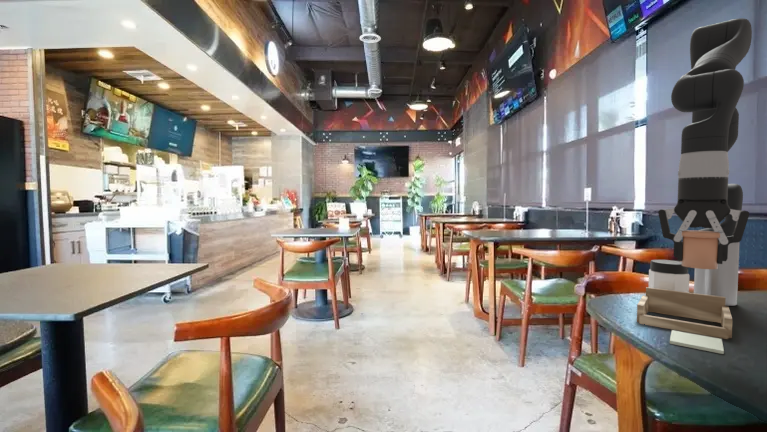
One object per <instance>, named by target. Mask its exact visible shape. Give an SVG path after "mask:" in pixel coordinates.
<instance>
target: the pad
mask: <svg viewBox="0 0 767 432" xmlns="http://www.w3.org/2000/svg"><path fill="white" fill-rule="evenodd" d="M670 344H671V345H675V346H681V347H686V348H690V349H695V350H700V351H704V352H706V351H707V352H710V353H716V354H720V355H724V354H725V350H724V349H725V348H724V345H723V338H717V337H712V336H706V335H701V334H695V333H689V332H684V331H678V330H672V329H671V333H670V337H669V345H670Z"/></svg>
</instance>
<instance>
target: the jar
mask: <svg viewBox="0 0 767 432" xmlns="http://www.w3.org/2000/svg"><path fill="white" fill-rule="evenodd" d="M648 287H649V288H657V289H665V290H673V291H681V292H689V293H690V274H689V267H685V266H682V261H678V260H669V259H651V260H650V268H649V269H648Z"/></svg>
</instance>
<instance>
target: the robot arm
mask: <svg viewBox="0 0 767 432" xmlns="http://www.w3.org/2000/svg"><path fill="white" fill-rule="evenodd" d="M752 28H753V27H752V24H751V22H750V20H749V19H747V18H745V17H744V18H743V17H741V18H740V17H739V18H734V19H733V18H732V19H730V20H725V21H722V22H721V21H720V22H717V23H713V24H707V25H704V26H700V27H697V28H695V29H694V30H693V31H692V33H691V36H690V41H689V57H690V69H691V70H689V71H688V72H686V73H685V74H683V75H682V76H681V77H680V78H679V79H678V80H677V81H676V83H675V84H674V86H673V88H672V91H671V96H670V97H671V103H672V106H673V108H674V109H676V110H677V111H678V112H680V113H681V112H682V113H691V123H689V124H687V125H685V126H684V127H683V128H682V131H681V141H680V142H681V143H680V144H681V145H680V160H679V163H678V171H677V176H678V178H677V181H678V182H677V200H676V201H677V202H676V205H674V207H673V208H667V209H666V208H665V209H664V208H662V209H659V210H658V212H657V213H658V218H659V222H660V229H661V232H662V233H661V234H662V236H663V238H664V239H668V240H671V241H672V242H673V257H674V258H677V261H680V262H682V247H683V243H682V239H683V236H682V231H687V230H689V228H693V229H694V228H701V229H698V230H697V231H714V232H715V233H720V238H718V239H719V245H718V269H698V268H694V274H693V275H694V277H693V278H694V279H693V281H694V283H693V293H697V294H705V295H713V296H721V297H725V298H726V300H725V307H729V306H731V307H732V306H737V305H738V289H739V288H738V287H739V286H738V285H739V283H738V282H739V265H740V264H739V262H740V261H739V260H740V242H741V241H742V239H743V236H744V232H745V229H746V226H747V223H748V220H749V217H750V211H748V210H742V209H743V202H744V201H743V199H744V197H743V196H744V192H743V189H742V186H741V185H740V184H737V183H729V176H730V164H729V163H730V161H729V153H728V152H729V151H730V150H731V149H732V147H733V146H734V144H735V143H736V142H737V140H738V138H739V124H740V123H739V120H740V114H739V111H738V108H737V105H738V103H739V101H740V98H741V96H742V93H743V90H744V86H745V80H744V77H743V75H742V73H741V72H740V71H738V70H737V69H736V68H737V66H738V65H739V64H740V63H741V62H742V61H743V60H744V59H745V57H746V55H747V54H748V53H749V51H750V48H751V43H752V39H753V37H752V35H753V30H752ZM673 214H676V216H677V217H678V218H679V219H680V221H682V223H681V225H680V227H679V229H678V230H677V232H676V234H675V233H673V232H671V228H670V223H669V220H670V219H672V215H673ZM723 220H724V221H723Z"/></svg>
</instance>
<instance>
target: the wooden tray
mask: <svg viewBox="0 0 767 432" xmlns="http://www.w3.org/2000/svg"><path fill="white" fill-rule="evenodd" d="M725 300H726V298H725V297H721V296H713V295H705V294H697V293H694V292H690V291H689V292H681V291H673V290H665V289H657V288H649V287H647V286H646V287H645V295H642V296H641V298H640V299H639V300H638V303H637V305H636V306H637V307H636V323H638V325H640V324H641V325H644V324H645V325H646V326H651V327H657V328H662V329H668V330H671V331H672V330H674V331H680V332H685V333H691V334H696V335H702V336H708V337H713V338H719V339H722V340H723V339H724V340H729V339H732V338H733V337H732V336H733V317H732V314H731V310H730V307H729V306H725ZM649 312H650V313H656V314H662V315H669V316H674V317H682V318H687V319H694V320H700V321H707V322H711V323H713V322H714V323H718V324H720V325H721V326H716V325H710V324H704V323H698V322H692V321H685V320H679V319H673V318H668V317H661V316H654V315H649V314H648V313H649Z"/></svg>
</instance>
